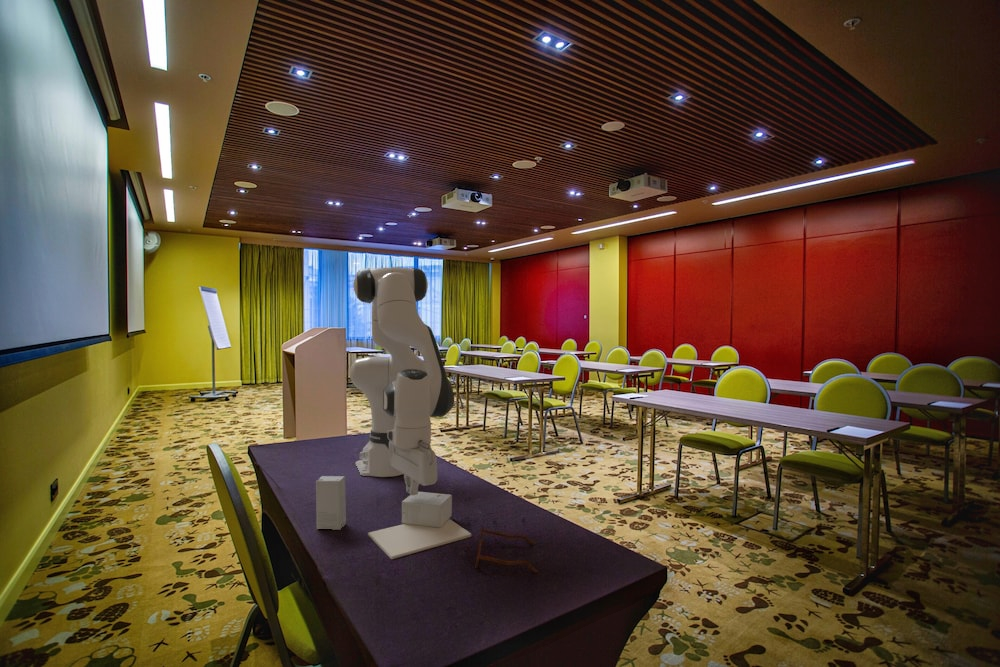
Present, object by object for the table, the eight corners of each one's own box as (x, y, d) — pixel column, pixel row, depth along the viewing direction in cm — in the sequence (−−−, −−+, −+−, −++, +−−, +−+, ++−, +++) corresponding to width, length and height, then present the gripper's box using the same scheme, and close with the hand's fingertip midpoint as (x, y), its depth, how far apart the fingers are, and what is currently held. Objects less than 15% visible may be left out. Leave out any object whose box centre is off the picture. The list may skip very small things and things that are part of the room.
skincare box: (346, 523, 119) (346, 475, 119) (340, 531, 114) (340, 481, 114) (321, 523, 119) (322, 474, 119) (314, 530, 114) (315, 480, 114)
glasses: (478, 544, 110) (479, 522, 109) (535, 545, 109) (535, 524, 109) (474, 574, 96) (474, 549, 96) (538, 575, 96) (539, 551, 96)
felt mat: (368, 535, 112) (368, 532, 112) (443, 516, 124) (443, 514, 124) (391, 559, 101) (391, 556, 101) (471, 536, 112) (471, 534, 112)
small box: (400, 523, 118) (440, 528, 115) (401, 501, 118) (440, 505, 115) (414, 511, 125) (452, 516, 123) (415, 490, 125) (452, 494, 123)
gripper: (444, 443, 109) (443, 504, 109) (407, 428, 126) (406, 480, 126) (419, 447, 105) (418, 509, 105) (384, 430, 122) (384, 484, 122)
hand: (411, 493), depth 116 cm, fingers closed
